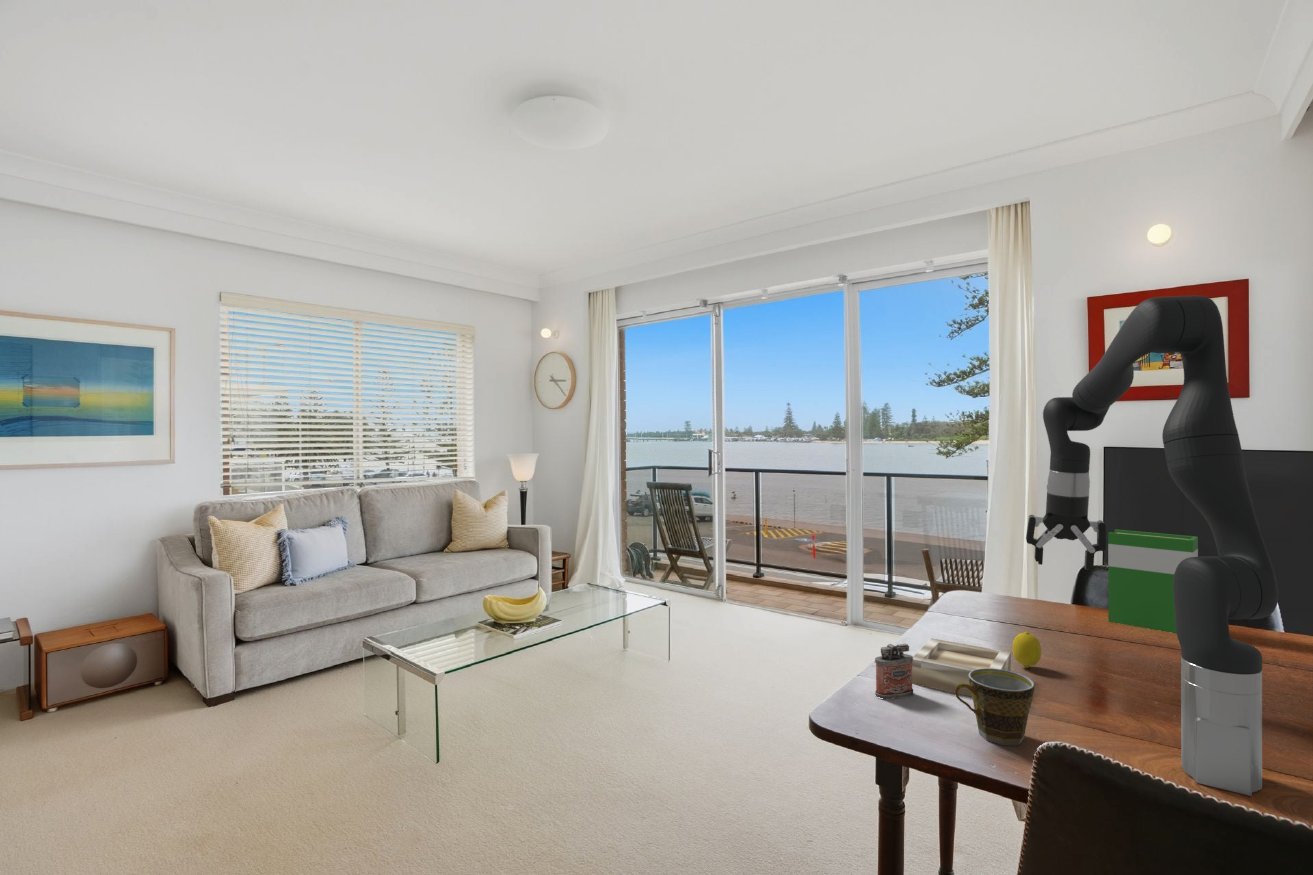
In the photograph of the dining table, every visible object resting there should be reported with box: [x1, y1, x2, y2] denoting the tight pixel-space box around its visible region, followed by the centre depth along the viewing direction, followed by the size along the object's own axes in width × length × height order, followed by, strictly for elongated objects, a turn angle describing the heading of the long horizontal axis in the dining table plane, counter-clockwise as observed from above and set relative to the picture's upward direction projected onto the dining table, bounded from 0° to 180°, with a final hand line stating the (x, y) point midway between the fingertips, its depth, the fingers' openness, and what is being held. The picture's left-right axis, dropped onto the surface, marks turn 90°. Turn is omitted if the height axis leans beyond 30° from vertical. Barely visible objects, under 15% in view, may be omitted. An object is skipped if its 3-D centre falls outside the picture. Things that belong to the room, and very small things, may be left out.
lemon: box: [1011, 631, 1042, 669], centre depth 142 cm, size 6×6×8 cm
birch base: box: [912, 637, 1012, 698], centre depth 137 cm, size 16×16×6 cm
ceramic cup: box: [954, 668, 1035, 747], centre depth 111 cm, size 13×10×10 cm
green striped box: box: [1107, 529, 1199, 635], centre depth 170 cm, size 18×7×24 cm, turn 43°
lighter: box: [874, 643, 914, 700], centre depth 129 cm, size 8×3×10 cm, turn 105°
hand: (1063, 566), depth 139 cm, fingers open, 8 cm apart
